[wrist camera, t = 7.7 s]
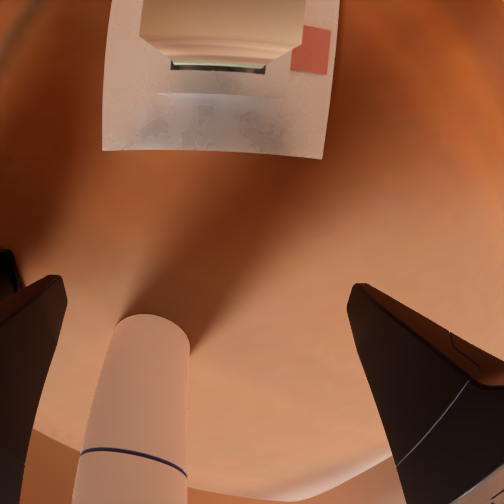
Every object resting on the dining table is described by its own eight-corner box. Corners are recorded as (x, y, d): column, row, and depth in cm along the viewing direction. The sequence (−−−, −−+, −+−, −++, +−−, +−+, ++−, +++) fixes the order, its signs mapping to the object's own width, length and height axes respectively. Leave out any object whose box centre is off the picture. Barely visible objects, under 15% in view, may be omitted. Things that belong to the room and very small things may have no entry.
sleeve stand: (317, 156, 21) (341, 172, 17) (107, 148, 19) (81, 162, 15) (336, -30, 14) (363, -52, 10) (125, -44, 12) (106, -70, 8)
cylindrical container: (181, 310, 25) (176, 654, 3) (196, 368, 29) (208, 635, 7) (101, 316, 25) (37, 615, 3) (127, 371, 28) (101, 619, 6)
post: (260, 69, 14) (303, 46, 7) (175, 65, 13) (136, 38, 6) (268, -4, 12) (313, -75, 5) (183, -8, 11) (159, -85, 4)
